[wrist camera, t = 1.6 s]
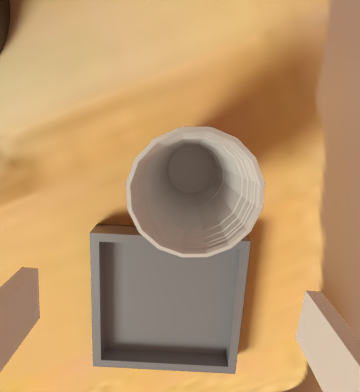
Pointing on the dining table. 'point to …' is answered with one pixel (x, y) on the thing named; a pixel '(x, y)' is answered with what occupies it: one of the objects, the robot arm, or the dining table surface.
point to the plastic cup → (195, 191)
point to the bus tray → (164, 304)
